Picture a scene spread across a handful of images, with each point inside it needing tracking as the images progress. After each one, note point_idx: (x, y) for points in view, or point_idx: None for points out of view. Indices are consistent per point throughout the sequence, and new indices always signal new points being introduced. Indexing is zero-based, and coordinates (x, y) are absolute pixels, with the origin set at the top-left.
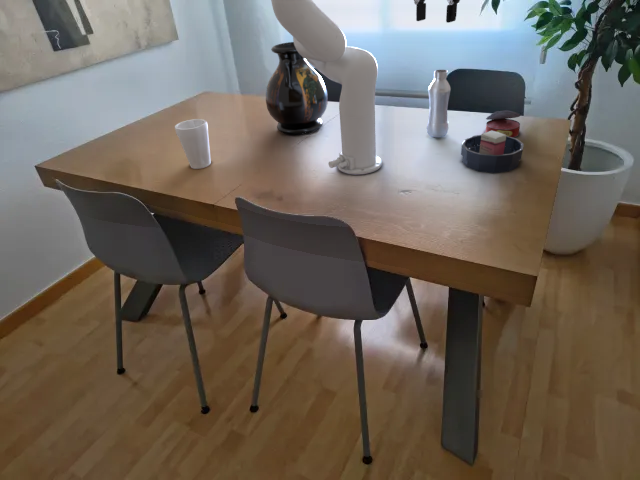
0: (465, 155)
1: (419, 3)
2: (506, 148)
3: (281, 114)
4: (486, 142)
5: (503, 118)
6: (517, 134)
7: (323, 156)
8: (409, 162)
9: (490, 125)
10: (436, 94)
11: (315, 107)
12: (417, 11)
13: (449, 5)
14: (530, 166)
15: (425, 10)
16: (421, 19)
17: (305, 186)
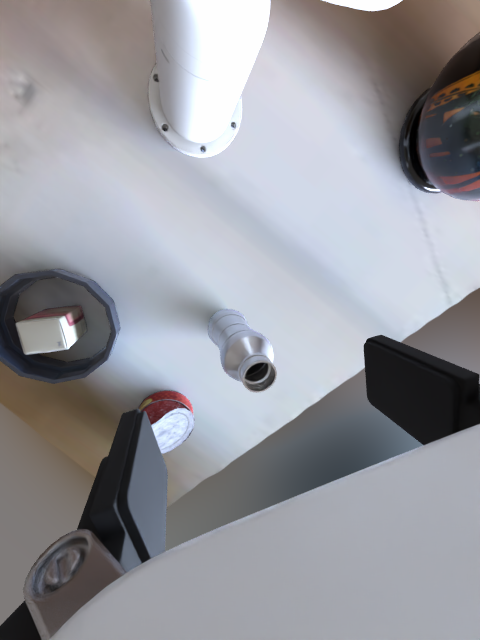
0: (64, 271)
1: (476, 406)
2: (74, 364)
3: (470, 39)
4: (47, 316)
5: (177, 436)
6: None
7: (285, 80)
8: (151, 201)
9: (175, 405)
10: (232, 336)
11: (434, 125)
12: (417, 355)
13: (91, 519)
14: None
15: (407, 428)
16: (367, 367)
17: None
